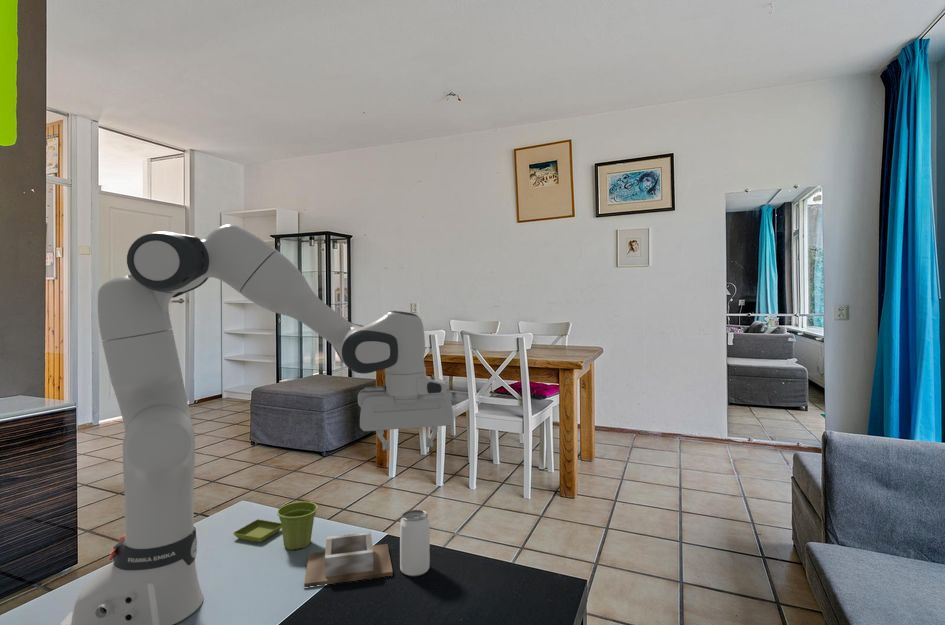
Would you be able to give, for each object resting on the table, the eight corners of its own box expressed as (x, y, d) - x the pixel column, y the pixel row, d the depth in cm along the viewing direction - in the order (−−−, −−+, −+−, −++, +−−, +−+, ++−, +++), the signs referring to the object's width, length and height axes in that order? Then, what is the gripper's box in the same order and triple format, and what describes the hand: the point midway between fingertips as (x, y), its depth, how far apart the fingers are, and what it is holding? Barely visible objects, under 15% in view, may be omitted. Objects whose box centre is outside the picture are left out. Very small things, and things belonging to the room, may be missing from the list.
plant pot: (324, 537, 123) (324, 502, 123) (305, 555, 114) (305, 518, 114) (290, 534, 125) (290, 500, 125) (269, 552, 116) (268, 515, 115)
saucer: (284, 531, 127) (284, 523, 127) (260, 546, 119) (260, 538, 119) (257, 526, 130) (257, 519, 130) (232, 541, 122) (232, 533, 122)
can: (424, 578, 104) (424, 522, 104) (395, 575, 105) (395, 519, 105) (433, 563, 110) (433, 510, 110) (405, 560, 111) (405, 508, 111)
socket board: (304, 591, 100) (304, 564, 100) (308, 559, 113) (308, 536, 113) (392, 578, 105) (392, 553, 105) (387, 549, 117) (387, 527, 117)
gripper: (356, 390, 102) (358, 455, 102) (453, 384, 105) (455, 448, 105) (358, 385, 108) (360, 447, 108) (450, 380, 111) (451, 440, 112)
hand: (408, 447), depth 107 cm, fingers open, 8 cm apart
